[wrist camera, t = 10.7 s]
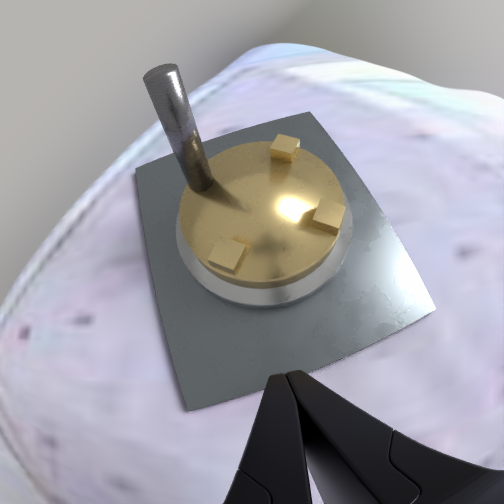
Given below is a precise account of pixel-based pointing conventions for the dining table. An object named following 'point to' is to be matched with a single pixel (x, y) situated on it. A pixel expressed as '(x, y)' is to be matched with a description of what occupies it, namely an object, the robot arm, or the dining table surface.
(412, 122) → the dining table surface
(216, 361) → the gray metal base plate
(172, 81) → the brass chuck with rod
